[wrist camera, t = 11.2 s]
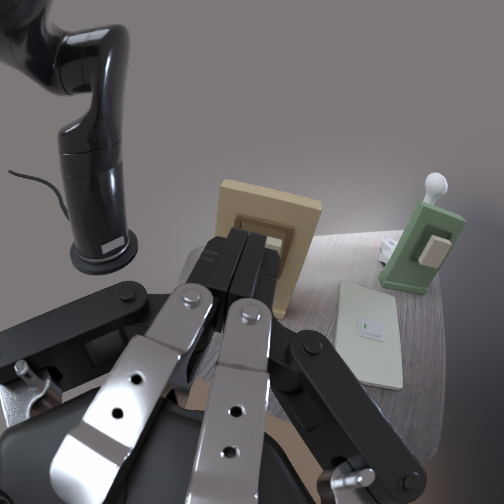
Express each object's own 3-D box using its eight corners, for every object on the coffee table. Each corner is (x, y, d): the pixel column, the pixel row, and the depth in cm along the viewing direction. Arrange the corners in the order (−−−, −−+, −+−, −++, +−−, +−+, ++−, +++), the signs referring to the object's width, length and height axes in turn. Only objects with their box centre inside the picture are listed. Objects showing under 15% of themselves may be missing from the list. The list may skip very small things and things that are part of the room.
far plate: (424, 294, 43) (467, 223, 33) (382, 287, 43) (424, 207, 33) (419, 283, 45) (459, 214, 36) (378, 275, 45) (417, 198, 35)
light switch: (404, 386, 26) (333, 372, 28) (399, 390, 27) (329, 377, 29) (395, 294, 40) (341, 278, 41) (392, 299, 41) (338, 283, 42)
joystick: (392, 275, 46) (440, 179, 34) (365, 251, 51) (404, 158, 39) (417, 262, 51) (458, 181, 39) (393, 241, 56) (428, 162, 44)
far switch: (437, 268, 37) (452, 244, 34) (420, 264, 37) (434, 239, 34) (434, 264, 38) (448, 240, 35) (417, 260, 38) (431, 234, 35)
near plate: (283, 320, 35) (322, 212, 25) (208, 301, 35) (218, 187, 25) (285, 303, 37) (321, 199, 27) (214, 285, 38) (226, 176, 28)
